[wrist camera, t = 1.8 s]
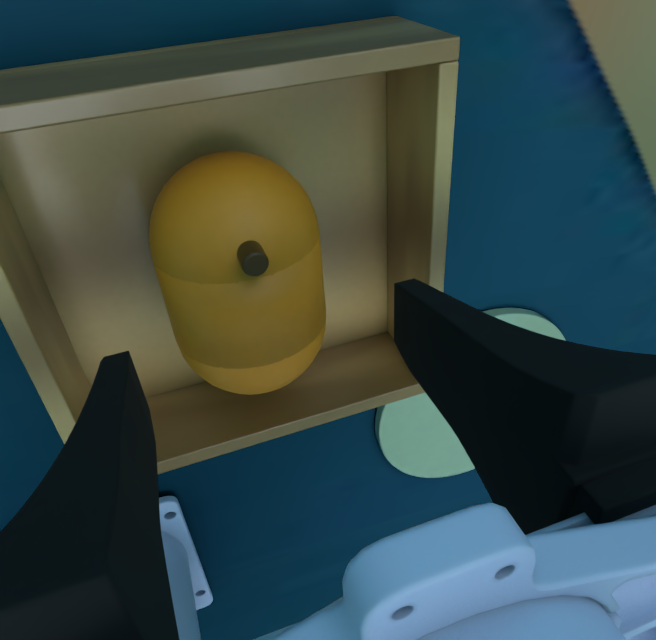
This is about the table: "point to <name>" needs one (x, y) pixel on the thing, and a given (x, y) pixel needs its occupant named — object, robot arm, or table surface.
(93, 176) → the wooden tray
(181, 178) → the orange rounded piece
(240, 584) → the table surface
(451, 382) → the robot arm
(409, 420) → the saucer
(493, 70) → the table surface
